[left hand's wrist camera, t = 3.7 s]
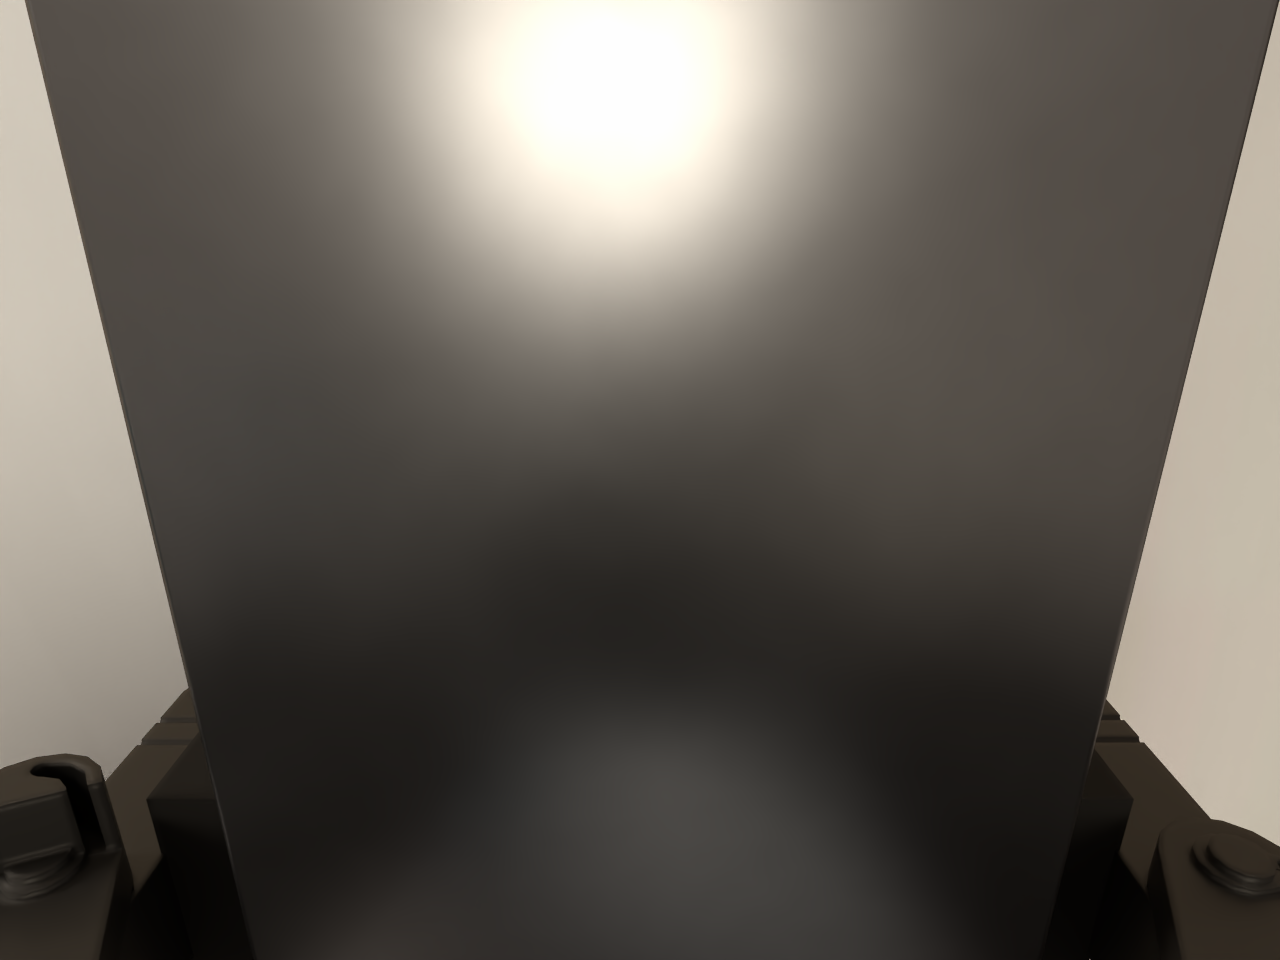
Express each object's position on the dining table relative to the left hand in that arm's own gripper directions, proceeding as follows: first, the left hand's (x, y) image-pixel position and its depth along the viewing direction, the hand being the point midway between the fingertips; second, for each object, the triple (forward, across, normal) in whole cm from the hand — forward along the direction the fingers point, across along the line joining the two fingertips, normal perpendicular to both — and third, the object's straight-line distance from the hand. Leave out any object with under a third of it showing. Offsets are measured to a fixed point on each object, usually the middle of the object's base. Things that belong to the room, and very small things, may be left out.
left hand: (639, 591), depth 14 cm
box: (+1, 0, -10) cm, 10 cm away
